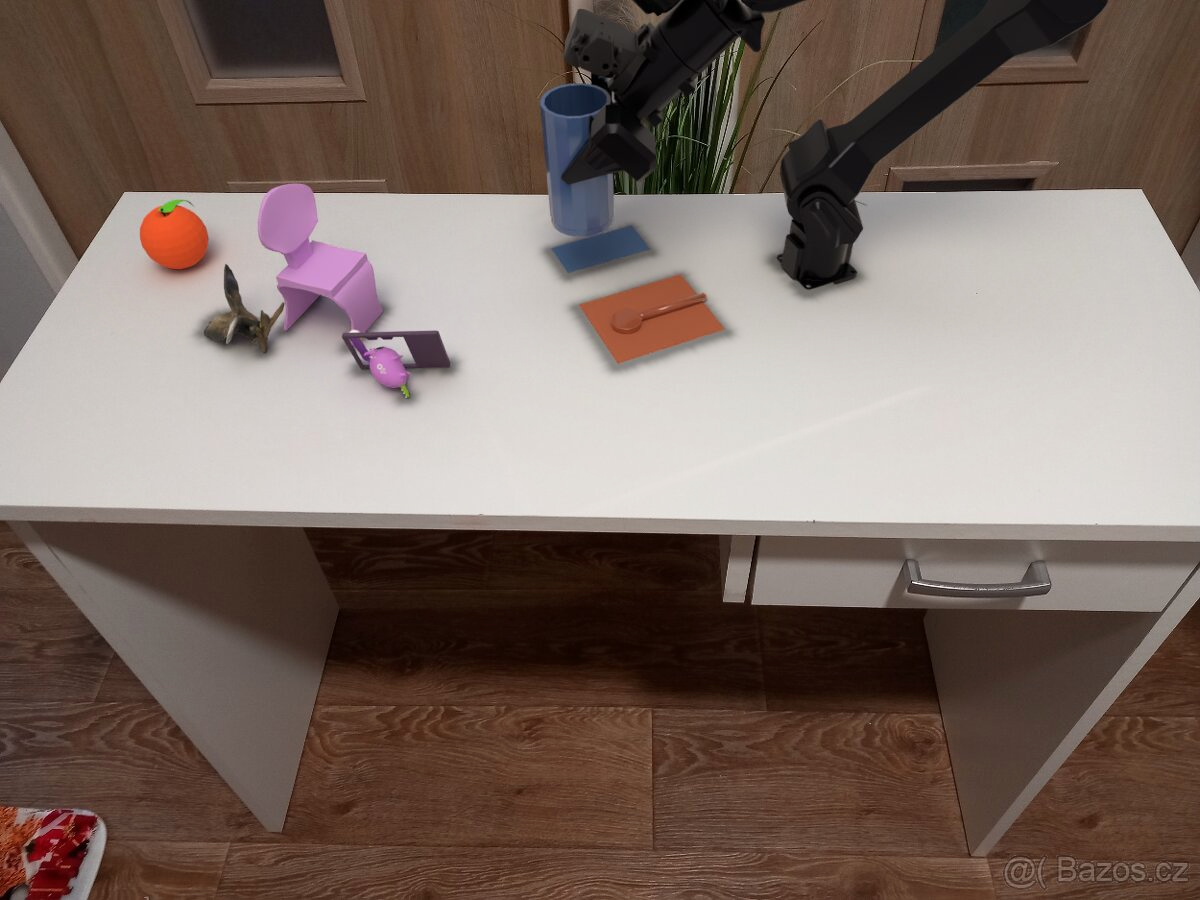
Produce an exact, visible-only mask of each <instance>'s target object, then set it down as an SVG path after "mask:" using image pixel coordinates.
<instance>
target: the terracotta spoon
mask: <svg viewBox="0 0 1200 900" xmlns="http://www.w3.org/2000/svg"><path fill="white" fill-rule="evenodd" d="M696 294H697V295H693V296H690V297H687V298H684V299H680V300H677V301H674V302H671V303H667V304H664V305H661V306H658V307H654V308H651V309H648V310H645V311H641V312H639V313H638V312H636V311H634V310H631V309H622V310H618V311H616V312H615V313H614V314H613V315H612V316H611V327H612V329H613V330H614V331H616V332H618V333H620V334H632V333H635V332H637V331H638V330H639V329H640V328H641V326H642V320H645V319H649V318H652V317H655V316H658V315H661V314H665V313H668V312H671V311H674V310H678V309H681V308H684V307H687V306H690V305H694V304H697V303H700V302H705V301H707V300H708V299H707V298H708V295H707V294H706V293H705V292H700V293H696Z"/></svg>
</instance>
